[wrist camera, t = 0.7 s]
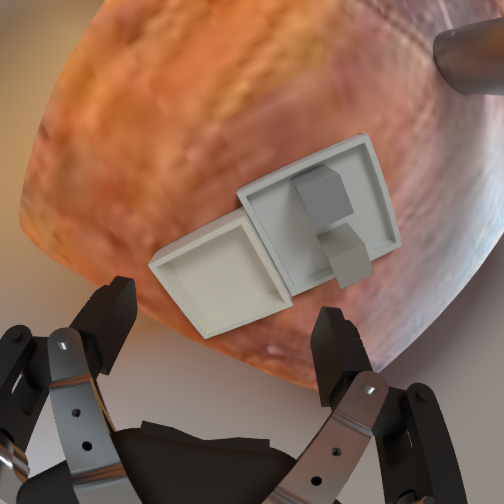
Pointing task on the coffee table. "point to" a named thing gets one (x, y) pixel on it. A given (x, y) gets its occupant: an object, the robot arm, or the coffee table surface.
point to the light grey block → (345, 255)
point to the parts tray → (299, 224)
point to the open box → (222, 275)
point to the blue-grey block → (322, 195)
